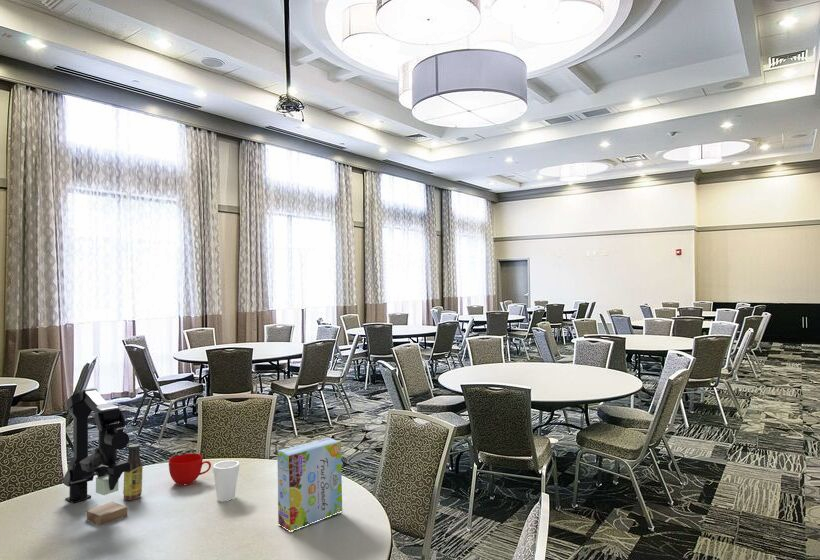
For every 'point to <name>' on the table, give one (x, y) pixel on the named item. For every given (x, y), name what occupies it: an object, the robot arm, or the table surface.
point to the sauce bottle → (133, 474)
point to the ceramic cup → (186, 468)
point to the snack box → (309, 482)
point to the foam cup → (226, 479)
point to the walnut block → (106, 513)
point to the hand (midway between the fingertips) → (107, 488)
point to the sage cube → (104, 485)
